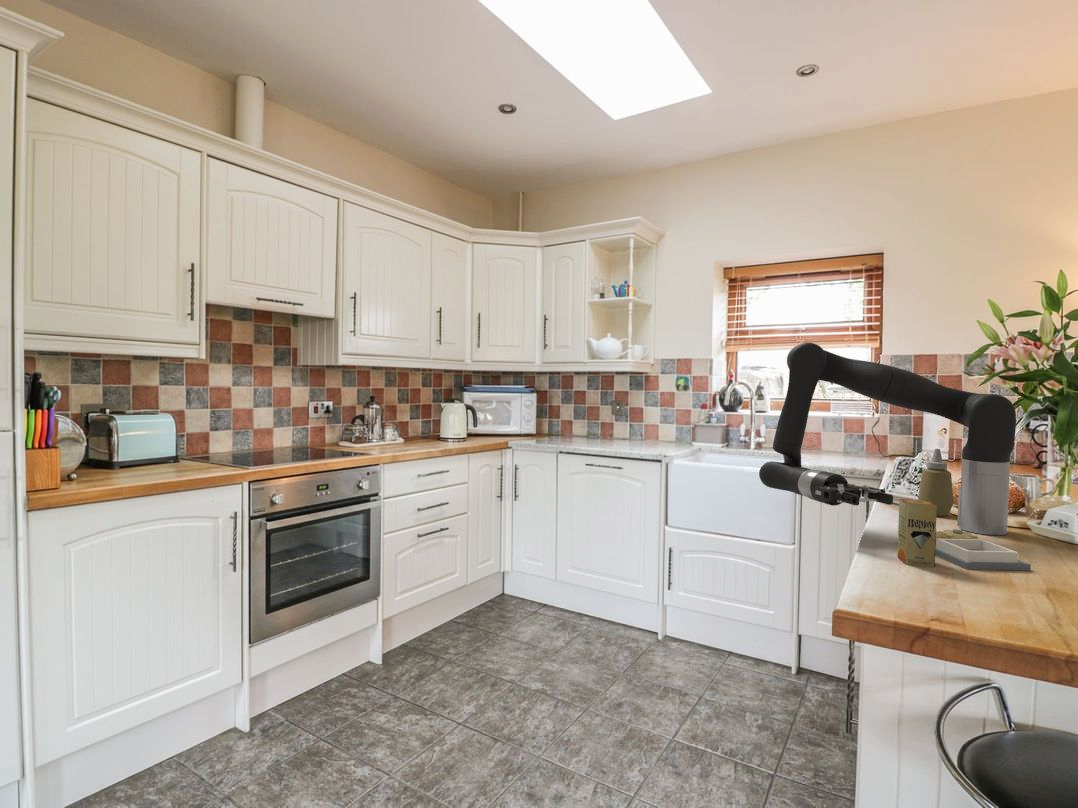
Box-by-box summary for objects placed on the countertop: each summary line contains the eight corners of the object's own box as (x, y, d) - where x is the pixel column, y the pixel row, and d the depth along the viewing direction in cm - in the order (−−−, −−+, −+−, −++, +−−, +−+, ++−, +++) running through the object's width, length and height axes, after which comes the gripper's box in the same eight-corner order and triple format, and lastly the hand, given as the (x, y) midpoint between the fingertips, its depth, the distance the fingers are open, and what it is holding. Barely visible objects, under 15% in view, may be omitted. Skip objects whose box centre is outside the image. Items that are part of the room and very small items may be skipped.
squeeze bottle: (926, 517, 156) (928, 450, 155) (912, 510, 164) (914, 447, 163) (959, 518, 154) (961, 451, 154) (943, 512, 162) (945, 447, 162)
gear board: (904, 541, 131) (904, 525, 131) (959, 542, 131) (960, 526, 130) (965, 569, 111) (966, 550, 111) (1031, 570, 111) (1032, 551, 110)
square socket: (935, 547, 121) (936, 538, 121) (982, 548, 121) (982, 539, 121) (967, 561, 112) (967, 551, 112) (1017, 562, 111) (1018, 552, 111)
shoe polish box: (897, 557, 118) (899, 498, 118) (925, 559, 117) (927, 500, 117) (905, 564, 114) (907, 503, 113) (934, 566, 112) (936, 505, 112)
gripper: (797, 471, 139) (847, 483, 123) (848, 471, 142) (903, 482, 126) (796, 502, 139) (845, 518, 123) (846, 501, 142) (901, 516, 127)
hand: (875, 500), depth 125 cm, fingers open, 8 cm apart
